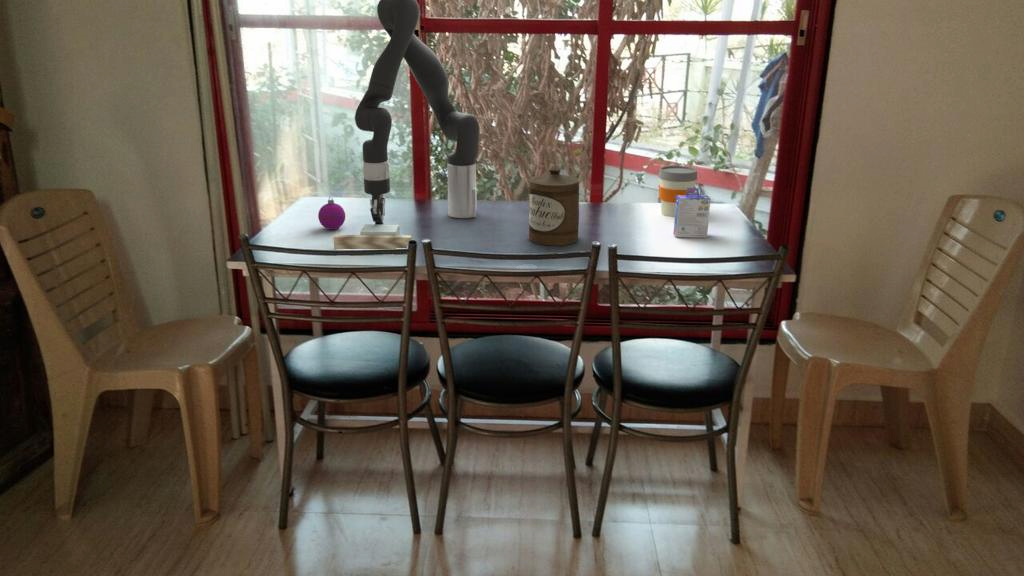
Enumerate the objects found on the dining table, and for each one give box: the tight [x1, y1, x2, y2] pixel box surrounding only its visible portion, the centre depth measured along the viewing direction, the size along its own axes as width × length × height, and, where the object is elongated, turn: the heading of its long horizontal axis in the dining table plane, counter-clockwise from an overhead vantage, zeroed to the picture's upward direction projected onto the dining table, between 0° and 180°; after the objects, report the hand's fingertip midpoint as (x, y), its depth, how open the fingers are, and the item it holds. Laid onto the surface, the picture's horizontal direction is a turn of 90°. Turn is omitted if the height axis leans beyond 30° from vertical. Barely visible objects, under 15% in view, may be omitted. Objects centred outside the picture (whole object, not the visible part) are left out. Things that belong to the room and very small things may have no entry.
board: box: [332, 234, 413, 250], centre depth 238 cm, size 22×2×4 cm, turn 90°
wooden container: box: [528, 165, 580, 246], centre depth 247 cm, size 15×15×22 cm
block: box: [359, 223, 401, 235], centre depth 242 cm, size 10×8×5 cm
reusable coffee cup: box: [658, 165, 698, 218], centre depth 277 cm, size 13×13×15 cm
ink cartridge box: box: [673, 187, 711, 239], centre depth 252 cm, size 10×6×14 cm, turn 90°
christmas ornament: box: [317, 197, 346, 230], centre depth 256 cm, size 8×8×10 cm
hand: (379, 233), depth 249 cm, fingers closed
